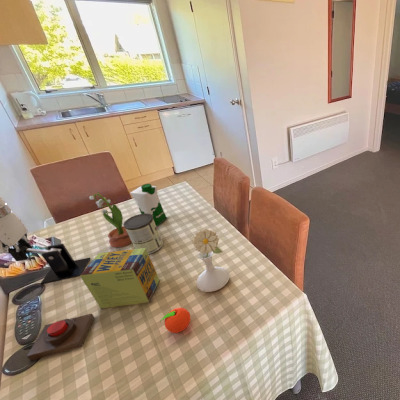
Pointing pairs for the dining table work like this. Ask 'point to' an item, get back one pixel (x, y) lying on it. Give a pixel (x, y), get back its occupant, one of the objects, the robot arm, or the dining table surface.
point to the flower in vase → (209, 262)
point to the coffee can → (143, 232)
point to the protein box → (121, 278)
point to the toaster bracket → (62, 265)
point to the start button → (57, 328)
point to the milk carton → (149, 202)
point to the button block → (62, 338)
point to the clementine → (177, 320)
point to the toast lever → (37, 250)
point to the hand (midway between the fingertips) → (25, 255)
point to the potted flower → (114, 223)
